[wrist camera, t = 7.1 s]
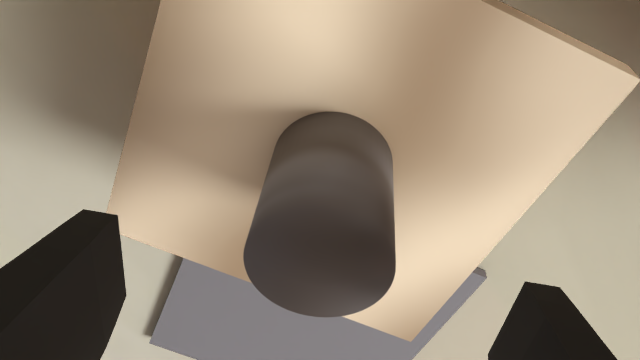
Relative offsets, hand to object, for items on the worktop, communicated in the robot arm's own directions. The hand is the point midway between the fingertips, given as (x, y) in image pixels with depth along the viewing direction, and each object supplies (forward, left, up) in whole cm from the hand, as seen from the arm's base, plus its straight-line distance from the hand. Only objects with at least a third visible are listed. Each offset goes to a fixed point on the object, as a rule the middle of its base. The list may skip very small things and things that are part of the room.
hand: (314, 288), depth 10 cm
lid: (0, 0, -5) cm, 5 cm away
